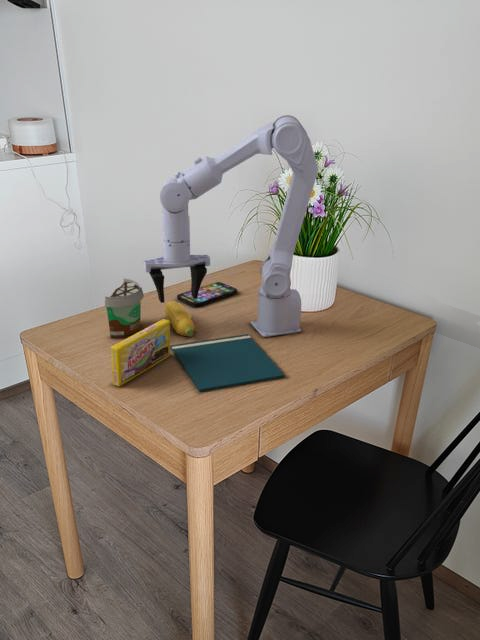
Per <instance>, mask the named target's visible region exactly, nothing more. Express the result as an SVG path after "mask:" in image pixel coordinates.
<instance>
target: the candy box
mask: <svg viewBox="0 0 480 640" xmlns="http://www.w3.org/2000/svg"><path fill="white" fill-rule="evenodd" d="M170 345H171V324H170V321H168V319H165V318H162V319H160V320H158V321H157V322H155V323H153V324H151V325H150V326H147V327H146V328H144V329H142V330H140V331H139V332H138V333H136V334H134V335H132V336H130V337H126V338H124V339H123V340H121V341H119V342H117V343H115V344H113V345H112V346H110V351H111V352H110V354H111V355H110V356H111V372H112V373H111V375H112V385H113V386H116V387H118V388H120V387H121V386H123V385H125V384H126V383H128V382H130V381H131V380H133V379H134V378H136V377H138V376H139V375H141V374H142V373H144V372H146V371H148V370H150V369H151V368H152V367H154V366H156V365H158V364H159V363H161V362H162V361H164V360H165V359H167V358H169V357H170V356H171V348H170Z"/></svg>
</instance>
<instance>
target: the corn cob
mask: <svg viewBox="0 0 480 640" xmlns="http://www.w3.org/2000/svg"><path fill="white" fill-rule="evenodd" d="M163 309H164V314H165V316H166V320H168V321H170V326H171V327H172V328H173V329H174V330H175V332H176V334H177V335H180V336H183V337H192V336H193V335H194V331H195V323H194V321H193V317H192V316H191V315H190V314H189V312H188V311H187V310H186V308H185V307H184V306H183V305H182V302H177V301H176V300H175V301H174V300H171V301H168V302H167V303H166V304H165V305H164V308H163Z"/></svg>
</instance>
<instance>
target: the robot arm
mask: <svg viewBox="0 0 480 640" xmlns="http://www.w3.org/2000/svg"><path fill="white" fill-rule="evenodd" d="M273 149H274V151H275V152H276V153H277V154H278V155H279V156H280V157H281V158H283V159H284V160H285V161H286V162H287V164H288V166H289V168H290V169H291V171H292V174H291V179H290V181H289V182H290V183H289V186H288V189H287V193H286V196H285V200H284V203H283V208H282V211H281V215H280V217H279V222H278V225H277V229H276V233H275V235H274V236H275V237H274V240H273V243H272V246H271V248H270V250H269V253H268V256H267V257H266V259H265V260H263V262H262V263H261V267H260V275H261V284H260V286H259V288H258V294H257V295H258V296H257V314H256V315H257V317H256V319H257V320H254V321H250V325H251V326H252V327H253V328H254V329H255V330H256V331H257V333H258V334H260V335H261V337H263V338H269V337H276V336H282V335H289V334H296V333H300V332H302V329H301V328H300V327H301V317H302V298H301V295H300V292H299V291H298V289H295V288H291V287H292V280H291V271H292V267H293V260H294V253H295V251H296V247H297V243H298V240H299V237H300V233H301V229H302V226H303V223H304V219H305V216H306V213H307V210H308V206H309V203H310V199H311V196H312V193H313V189H314V186H315V182H316V179H317V176H318V172H319V166H318V162H317V159H316V155H315V152H314V149H313V145H312V142H311V138H310V137H309V135H308V132H307V131H306V129H305V127H304V126H303V125H302V124H301V122H300V121H299V120H298V118H297V117H295V116H293V115H290V114H284V115H281V116H279V117H277V118H276V119H275V120H274V121H270V122H268V123H265V124H264V125H262V126H260V127H259V128H257V129H255V130H254V131H252V132H251V133H249V134H248V135H247V136H245V137H244V138H243V139H241V140H239V142H237V143H235V144H233V145H232V146H231V147H230V148H228V149H227V150H225V151H224V152H223V153H221V154H220V155H218V156H216V157H215V158H214V157H210V156H205V157H203V158H202V157H200V156H199V157H197V158H196V159H194V164H193V165H191V166H189V167H187V168H186V169H185V170H182V172H180V171H177V172H176V173H175V174H174V176H175V177H170V178H169V179H167V180H166V181H165V182H164V184H163V185H162V188H161V190H160V193H159V199H160V203H161V205H162V209H161V212H162V217H161V223H162V245H163V246H162V247H163V248H162V249H163V256H161V257H160V256H159V257H157V258H153V259H146V260H143V261H142V263H143V270H144V272H145V273H149V275H150V278H151V279H152V282H153V285H154V286H155V289H156V293H157V296H158V301H159V302H160V304H161V303H162V304H163V303H165V288H164V287H165V286H164V284H165V275H164V274H163V270H172V269H173V270H174V269H181V268H182V269H183V268H190V269H189V270H190V277H191V279H190V280H191V282H190V283H191V285H190V290H191V294H192V297H193V298H194V299H197V296H198V292H199V288H200V287H201V285H202V282H203V280H204V278H205V277H206V276H207V272H208V268H207V267H210V266H211V256H210V255H208V254H191V226H190V225H191V223H190V222H191V221H190V219H191V218H190V215H189V203H190V201H192V200H197V199H198V198H199V197H201V196H203V195H204V194H206V193H208V192H209V191H211V190H212V189H214V188H216V187H217V186H219V185H220V184H221V183H222V181H223V176H224V174H226V173H227V172H229V171H230V170H231V169H233V168H235V167H237V166H238V165H240V164H242V163H245V162H246V161H248V160H249V159H251V158H252V157H254V156H255V155H258V154H259V155H266V156H267V155H268V156H272V155H273Z"/></svg>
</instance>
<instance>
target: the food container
mask: <svg viewBox="0 0 480 640" xmlns="http://www.w3.org/2000/svg"><path fill="white" fill-rule="evenodd" d="M143 298H144V291H143V287H142V286H141V284H140V283H139V282H138V281H136V280H133V279H130V278H123V283H122V284H121V285H120V286H119V287H117V288H116V289H114V290H113V292H112V293H111V295H110V296H104V307H105V308H106V313H107V321H108V328H109V334H110V338H111V339H127V338H129V337H130V336H132V335H134V334H136V333H138V332H140V331H141V312H142V311H141V307H142V306H141V305H142V300H143Z"/></svg>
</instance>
